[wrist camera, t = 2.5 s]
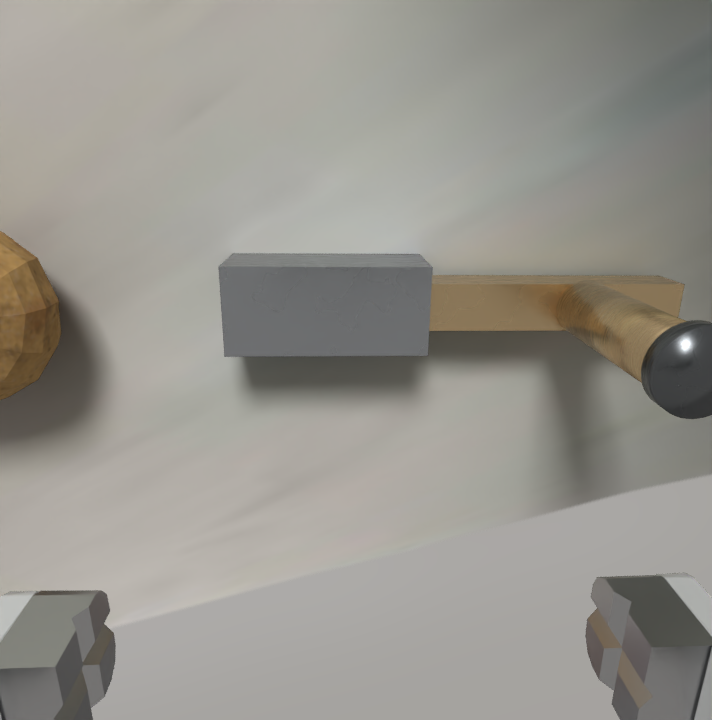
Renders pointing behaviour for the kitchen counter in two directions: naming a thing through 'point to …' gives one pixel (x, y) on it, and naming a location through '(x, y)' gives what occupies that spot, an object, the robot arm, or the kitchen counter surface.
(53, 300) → the potato
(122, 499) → the kitchen counter surface
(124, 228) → the kitchen counter surface
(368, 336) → the sleeve
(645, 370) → the hammer
